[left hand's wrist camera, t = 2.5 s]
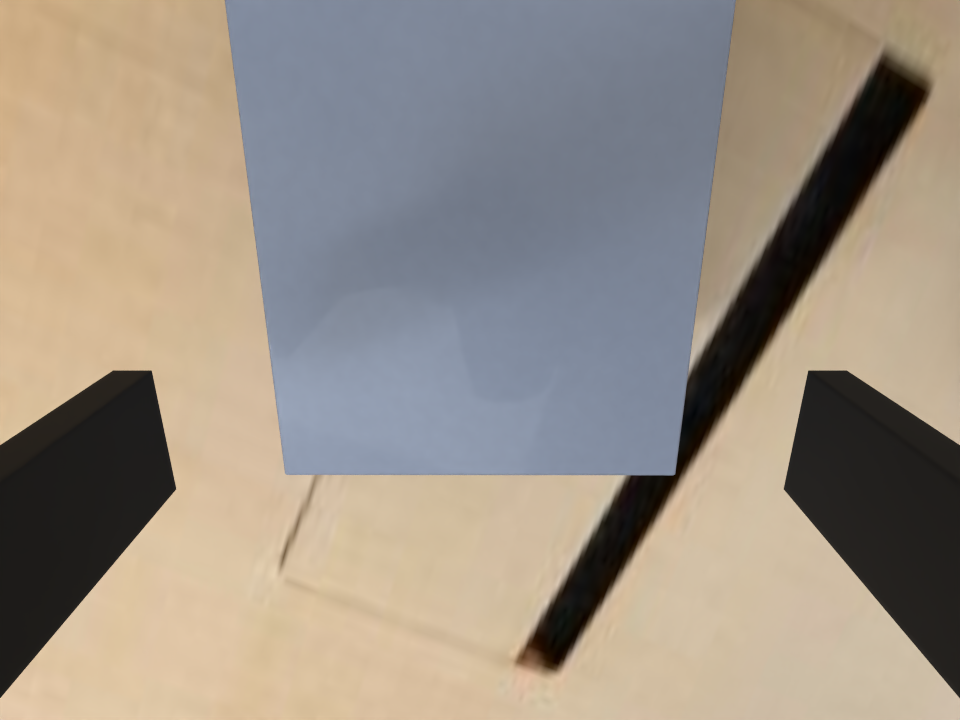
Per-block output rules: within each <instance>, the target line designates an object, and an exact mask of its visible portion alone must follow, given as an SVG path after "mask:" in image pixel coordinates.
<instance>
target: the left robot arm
mask: <svg viewBox="0 0 960 720" xmlns="http://www.w3.org/2000/svg"><path fill="white" fill-rule="evenodd" d="M175 490H176V486H175V481H174V476H173V471H172V467H171V462H170V457H169V452H168V447H167V442H166V438H165V433H164V428H163V423H162V418H161V414H160V409H159V404H158V399H157V394H156V390H155V385H154V380H153V375H152V371H112V372H110V373H109V374H107V375H106V376H104V377H103V378H101V379H100V380H98V381H97V382H95V383H94V384H92V385H91V386H89V387H88V388H86V389H85V390H83V391H82V392H80V393H79V394H77V395H76V396H74V397H73V398H71V399H70V400H68V401H67V402H65V403H64V404H62V405H61V406H59V407H57V408H56V409H54V410H53V411H51V412H50V413H48V414H47V415H45V416H44V417H42V418H41V419H39V420H38V421H36V422H35V423H33V424H32V425H30V426H29V427H27V428H26V429H24V430H23V431H21V432H20V433H18V434H17V435H15V436H14V437H12V438H11V439H9V440H8V441H6V442H5V443H3V444H1V445H0V698H1V697H2V695H3V694H4V693H5V692H6V691H7V689H8V688H9V687H10V686H11V685H12V683H13V682H14V681H15V680H16V679H17V678H18V676H19V675H20V674H21V673H22V672H23V670H24V669H25V668H26V667H27V666H28V664H29V663H30V662H31V661H32V660H33V659H34V657H35V656H36V655H37V654H38V653H39V651H40V650H41V649H42V648H43V647H44V645H45V644H46V643H47V642H48V641H49V640H50V638H51V637H52V636H53V635H54V634H55V632H56V631H57V630H58V629H59V628H60V626H61V625H62V624H63V623H64V622H65V621H66V619H67V618H68V617H69V616H70V615H71V613H72V612H73V611H74V610H75V609H76V607H77V606H78V605H79V604H80V603H81V602H82V600H83V599H84V598H85V597H86V596H87V594H88V593H89V592H90V591H91V590H92V588H93V587H94V586H95V585H96V584H97V583H98V581H99V580H100V579H101V578H102V577H103V575H104V574H105V573H106V572H107V571H108V569H109V568H110V567H111V566H112V565H113V564H114V562H115V561H116V560H117V559H118V558H119V556H120V555H121V554H122V553H123V552H124V550H125V549H126V548H127V547H128V546H129V545H130V543H131V542H132V541H133V540H134V539H135V537H136V536H137V535H138V534H139V533H140V531H141V530H142V529H143V528H144V527H145V526H146V524H147V523H148V522H149V521H150V520H151V518H152V517H153V516H154V515H155V514H156V512H157V511H158V510H159V509H160V508H161V507H162V505H163V504H164V503H165V502H166V501H167V499H168V498H169V497H170V496H171V495H172V493H173V492H174V491H175ZM784 490H785V491H786V492H787V493H788V495H789V496H790V497H791V498H792V499H793V501H794V502H795V503H796V504H797V505H798V507H799V508H800V509H801V510H802V511H803V512H804V514H805V515H806V516H807V517H808V518H809V520H810V521H811V522H812V523H813V524H814V526H815V527H816V528H817V529H818V530H819V531H820V533H821V534H822V535H823V536H824V537H825V539H826V540H827V541H828V542H829V543H830V545H831V546H832V547H833V548H834V549H835V550H836V552H837V553H838V554H839V555H840V556H841V558H842V559H843V560H844V561H845V562H846V564H847V565H848V566H849V567H850V568H851V569H852V571H853V572H854V573H855V574H856V575H857V577H858V578H859V579H860V580H861V581H862V583H863V584H864V585H865V586H866V587H867V588H868V590H869V591H870V592H871V593H872V594H873V596H874V597H875V598H876V599H877V600H878V602H879V603H880V604H881V605H882V606H883V607H884V609H885V610H886V611H887V612H888V613H889V615H890V616H891V617H892V618H893V619H894V621H895V622H896V623H897V624H898V625H899V626H900V628H901V629H902V630H903V631H904V632H905V634H906V635H907V636H908V637H909V638H910V640H911V641H912V642H913V643H914V644H915V645H916V647H917V648H918V649H919V650H920V651H921V653H922V654H923V655H924V656H925V657H926V659H927V660H928V661H929V662H930V663H931V664H932V666H933V667H934V668H935V669H936V670H937V672H938V673H939V674H940V675H941V676H942V678H943V679H944V680H945V681H946V682H947V683H948V685H949V686H950V687H951V688H952V689H953V691H954V692H955V693H956V694H957V695H958V697H959V698H960V445H959V444H957V443H955V442H954V441H952V440H951V439H949V438H948V437H946V436H945V435H943V434H942V433H940V432H939V431H937V430H936V429H934V428H933V427H931V426H930V425H928V424H927V423H925V422H924V421H922V420H921V419H919V418H918V417H916V416H915V415H913V414H912V413H910V412H909V411H907V410H906V409H904V408H903V407H901V406H899V405H898V404H896V403H895V402H893V401H892V400H890V399H889V398H887V397H886V396H884V395H883V394H881V393H880V392H878V391H877V390H875V389H874V388H872V387H871V386H869V385H868V384H866V383H865V382H863V381H862V380H860V379H859V378H857V377H856V376H854V375H853V374H851V373H850V372H848V371H808V375H807V380H806V385H805V390H804V394H803V399H802V404H801V409H800V414H799V418H798V423H797V428H796V433H795V438H794V442H793V447H792V452H791V457H790V462H789V467H788V471H787V476H786V481H785V486H784Z"/></svg>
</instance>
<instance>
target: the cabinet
mask: <svg viewBox="0 0 960 720" xmlns="http://www.w3.org/2000/svg"><path fill="white" fill-rule="evenodd" d="M735 3H736V0H225V5H226V13H227V21H228V28H229V36H230V44H231V52H232V60H233V68H234V75H235V83H236V91H237V99H238V107H239V115H240V122H241V130H242V138H243V146H244V154H245V162H246V170H247V177H248V185H249V193H250V201H251V209H252V217H253V224H254V232H255V240H256V248H257V256H258V264H259V271H260V279H261V287H262V295H263V303H264V311H265V319H266V326H267V334H268V342H269V350H270V358H271V366H272V373H273V381H274V389H275V397H276V405H277V413H278V420H279V428H280V436H281V444H282V452H283V460H284V468H285V474H286V475H675V471H676V463H677V455H678V447H679V439H680V432H681V424H682V416H683V408H684V400H685V393H686V385H687V377H688V369H689V361H690V354H691V346H692V338H693V330H694V322H695V315H696V307H697V299H698V291H699V283H700V276H701V268H702V260H703V252H704V244H705V237H706V229H707V221H708V213H709V205H710V198H711V190H712V182H713V174H714V166H715V159H716V151H717V143H718V135H719V127H720V120H721V112H722V104H723V96H724V88H725V81H726V73H727V65H728V57H729V49H730V42H731V34H732V26H733V18H734V10H735Z"/></svg>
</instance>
